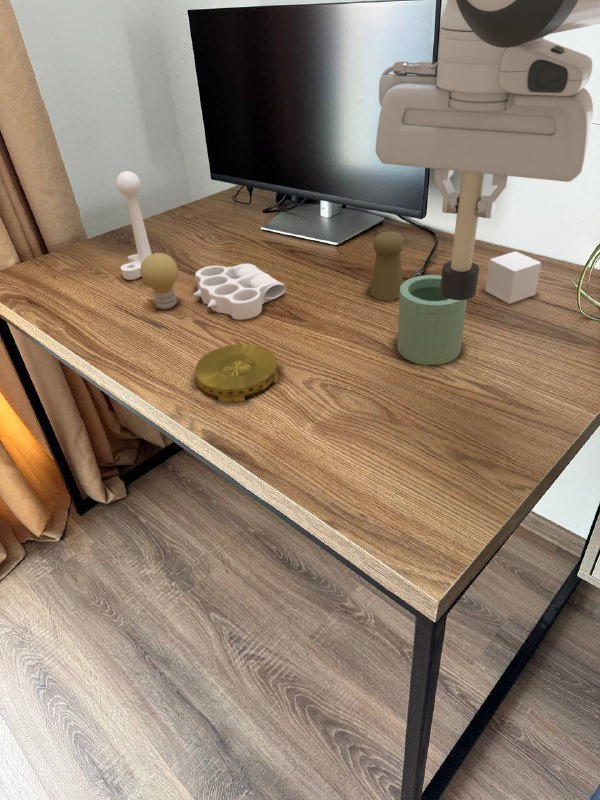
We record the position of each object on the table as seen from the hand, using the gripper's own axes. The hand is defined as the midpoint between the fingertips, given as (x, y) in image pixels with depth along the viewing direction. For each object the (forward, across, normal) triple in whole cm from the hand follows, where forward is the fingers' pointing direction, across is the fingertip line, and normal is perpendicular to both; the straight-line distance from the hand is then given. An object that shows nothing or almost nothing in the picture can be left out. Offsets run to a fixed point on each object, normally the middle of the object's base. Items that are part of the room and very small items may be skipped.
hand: (467, 213), depth 61 cm
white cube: (+27, 0, +38) cm, 47 cm away
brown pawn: (+28, -20, +30) cm, 45 cm away
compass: (+28, -30, -4) cm, 41 cm away
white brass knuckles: (+28, -45, +18) cm, 56 cm away
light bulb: (+28, -55, +10) cm, 62 cm away
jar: (+27, -7, +15) cm, 32 cm away
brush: (+9, 0, 0) cm, 9 cm away
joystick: (+28, -69, +19) cm, 77 cm away
